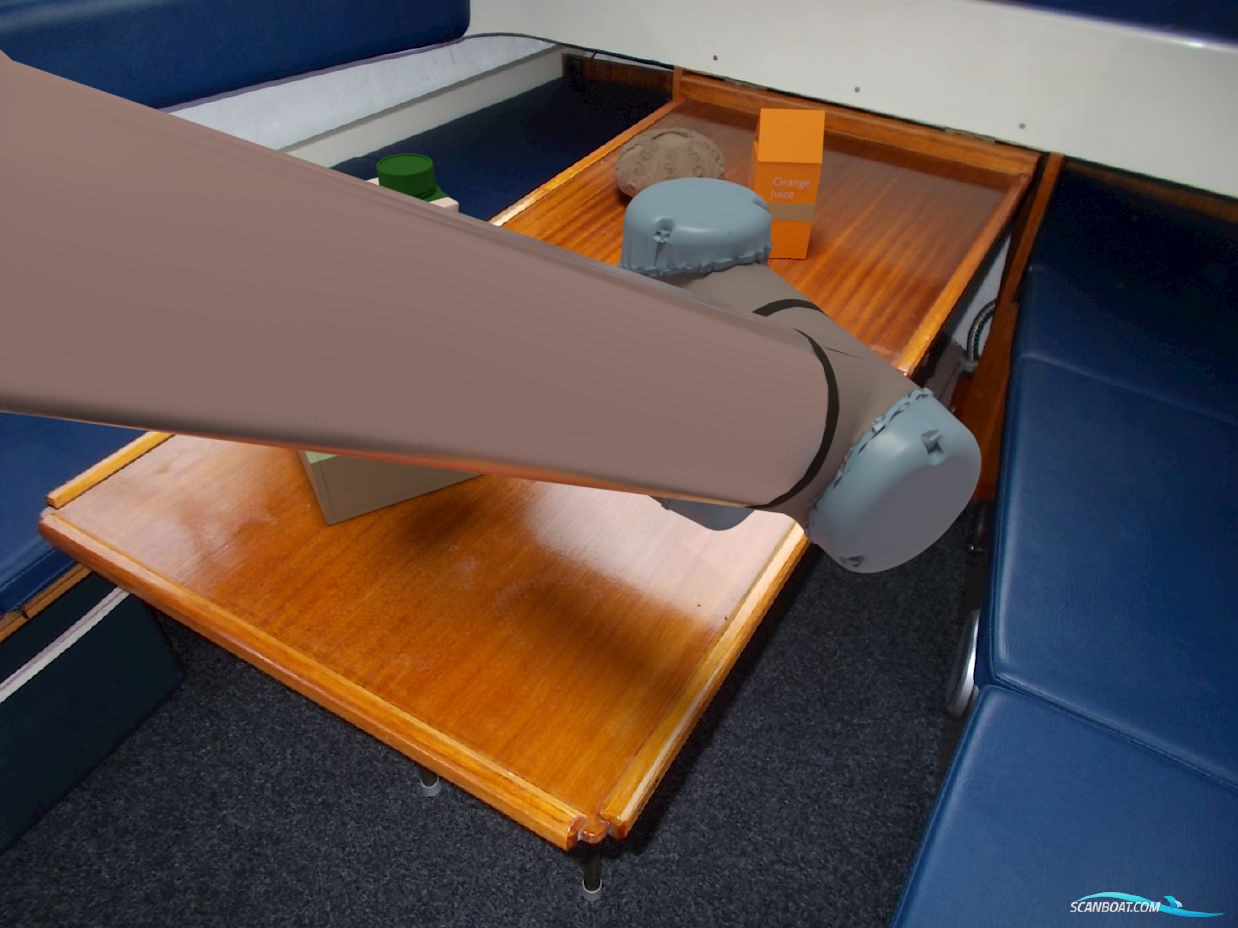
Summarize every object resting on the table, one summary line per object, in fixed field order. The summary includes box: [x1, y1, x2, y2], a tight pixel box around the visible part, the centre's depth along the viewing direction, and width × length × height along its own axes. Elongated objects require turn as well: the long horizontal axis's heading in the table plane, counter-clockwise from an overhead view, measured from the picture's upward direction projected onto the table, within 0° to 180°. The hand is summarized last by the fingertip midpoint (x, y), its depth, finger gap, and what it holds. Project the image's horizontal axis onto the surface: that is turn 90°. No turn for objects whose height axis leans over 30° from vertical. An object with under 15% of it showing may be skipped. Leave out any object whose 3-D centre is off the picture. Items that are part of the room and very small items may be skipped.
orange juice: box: [747, 107, 826, 259], centre depth 122 cm, size 8×9×20 cm
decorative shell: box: [613, 126, 727, 199], centre depth 137 cm, size 18×18×10 cm
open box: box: [296, 450, 484, 527], centre depth 89 cm, size 17×17×8 cm
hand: (362, 266), depth 68 cm, fingers closed on soya milk, 9 cm apart
